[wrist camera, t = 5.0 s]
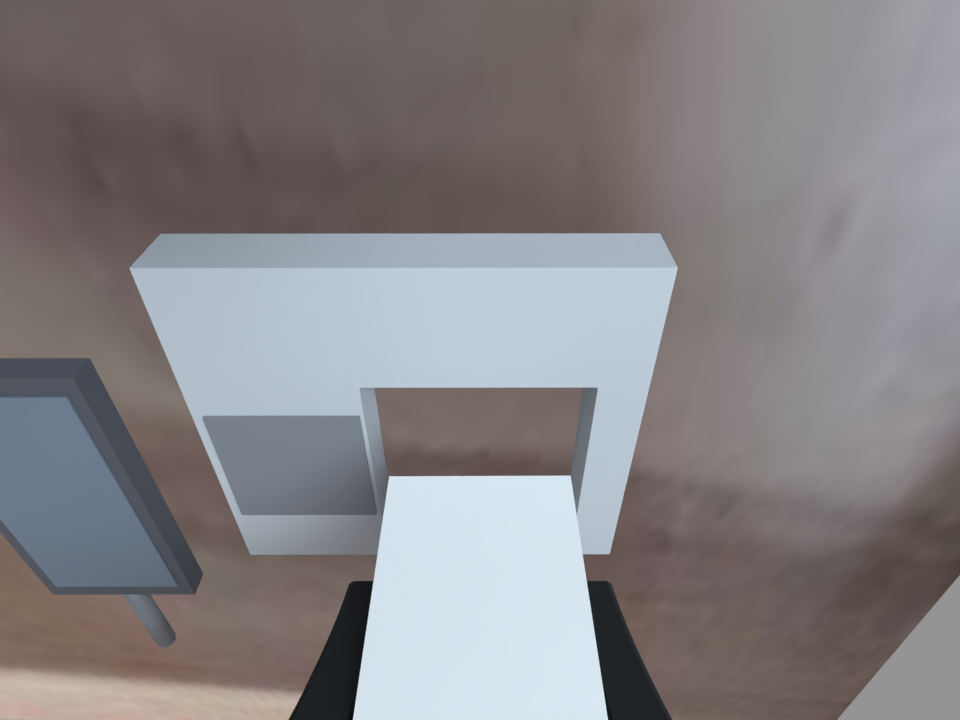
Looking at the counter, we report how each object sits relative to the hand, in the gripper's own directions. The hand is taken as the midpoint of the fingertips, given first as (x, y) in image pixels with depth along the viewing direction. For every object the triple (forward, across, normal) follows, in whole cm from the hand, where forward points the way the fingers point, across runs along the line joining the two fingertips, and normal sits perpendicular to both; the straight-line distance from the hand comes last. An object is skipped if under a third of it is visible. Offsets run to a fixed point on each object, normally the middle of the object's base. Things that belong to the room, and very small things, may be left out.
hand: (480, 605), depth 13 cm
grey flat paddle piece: (+5, -12, -5) cm, 14 cm away
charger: (+2, 0, 0) cm, 2 cm away
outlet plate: (+5, -2, +1) cm, 6 cm away
